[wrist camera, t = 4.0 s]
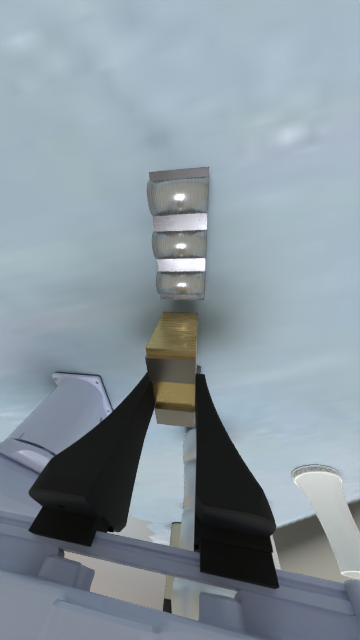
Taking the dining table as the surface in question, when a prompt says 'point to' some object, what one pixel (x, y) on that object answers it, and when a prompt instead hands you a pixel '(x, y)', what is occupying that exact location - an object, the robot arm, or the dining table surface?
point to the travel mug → (169, 579)
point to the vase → (332, 514)
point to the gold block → (174, 368)
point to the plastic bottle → (190, 540)
